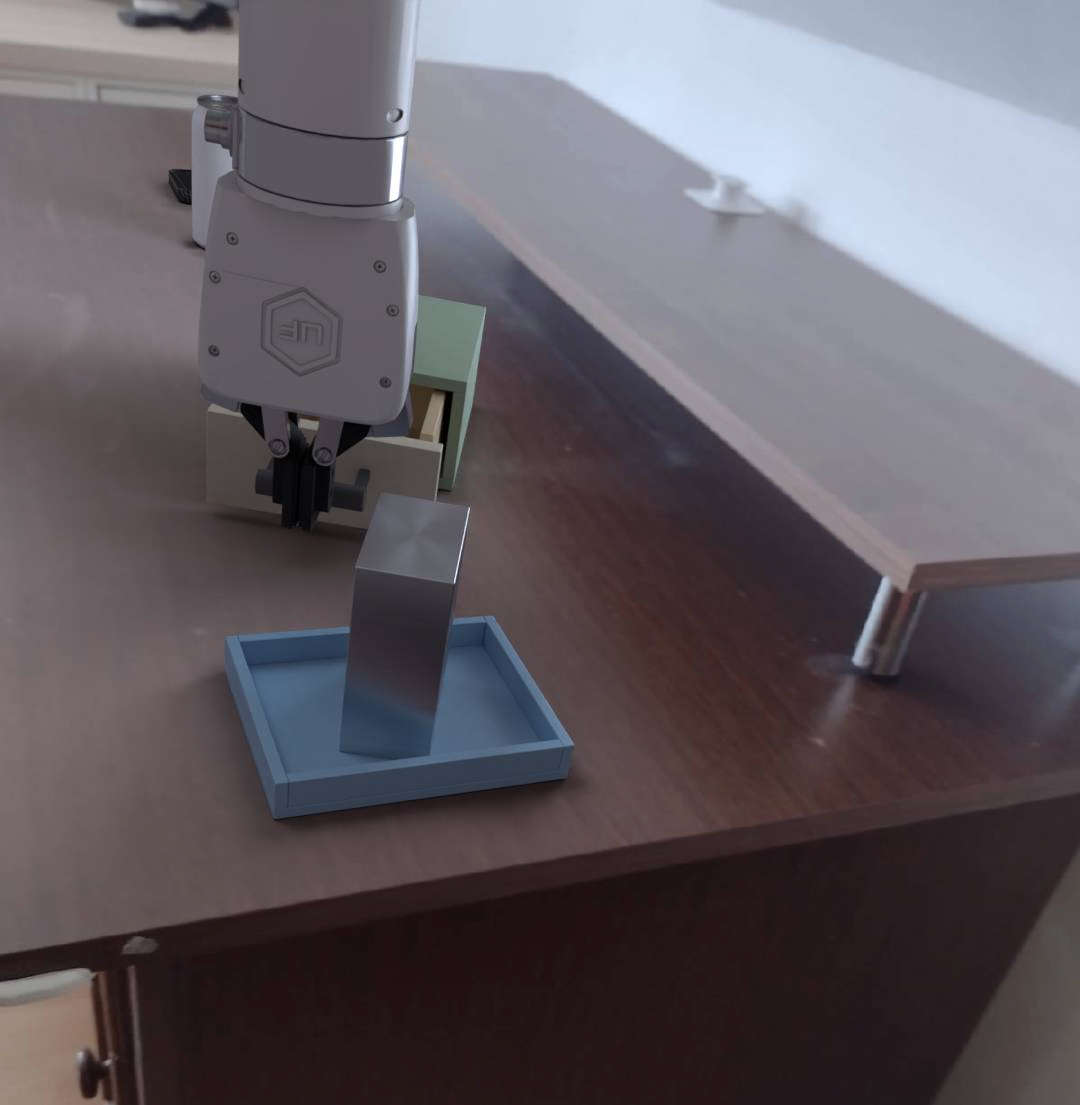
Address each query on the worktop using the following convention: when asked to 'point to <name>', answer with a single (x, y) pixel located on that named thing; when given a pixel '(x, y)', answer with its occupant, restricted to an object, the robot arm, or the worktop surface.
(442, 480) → the cabinet
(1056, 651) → the worktop surface
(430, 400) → the drawer
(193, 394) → the worktop surface
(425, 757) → the tray
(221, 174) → the can
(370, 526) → the brushed metal block
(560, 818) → the worktop surface
